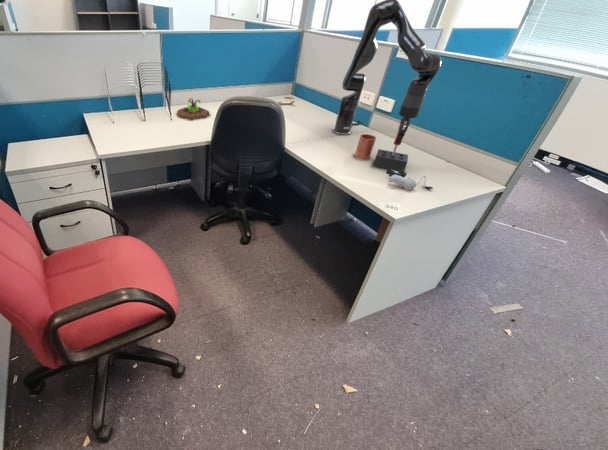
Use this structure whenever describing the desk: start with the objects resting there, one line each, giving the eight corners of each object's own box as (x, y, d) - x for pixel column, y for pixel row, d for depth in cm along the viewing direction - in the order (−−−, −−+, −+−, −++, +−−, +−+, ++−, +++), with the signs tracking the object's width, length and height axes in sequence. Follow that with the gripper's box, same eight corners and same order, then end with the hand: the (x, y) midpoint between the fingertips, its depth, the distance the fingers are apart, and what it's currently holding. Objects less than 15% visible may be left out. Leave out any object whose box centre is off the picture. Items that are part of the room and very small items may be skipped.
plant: (171, 114, 222) (171, 97, 216) (193, 108, 233) (193, 92, 227) (191, 121, 211) (190, 103, 204) (213, 115, 221) (213, 98, 215)
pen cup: (355, 153, 175) (361, 133, 168) (370, 156, 172) (376, 135, 165) (353, 158, 169) (359, 137, 163) (368, 161, 167) (375, 140, 160)
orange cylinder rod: (389, 153, 159) (399, 127, 151) (396, 154, 157) (406, 129, 150) (389, 155, 156) (398, 129, 149) (396, 156, 155) (405, 131, 148)
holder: (374, 160, 168) (378, 149, 165) (403, 166, 163) (408, 154, 160) (372, 167, 161) (376, 155, 158) (402, 173, 156) (407, 162, 153)
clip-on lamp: (421, 188, 151) (383, 174, 152) (430, 176, 147) (390, 162, 149) (429, 199, 141) (388, 184, 142) (438, 186, 137) (396, 171, 139)
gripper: (402, 99, 150) (389, 136, 160) (401, 107, 140) (387, 146, 150) (421, 102, 147) (406, 139, 157) (421, 110, 137) (405, 149, 147)
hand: (397, 142), depth 153 cm, fingers closed on orange cylinder rod, 3 cm apart
